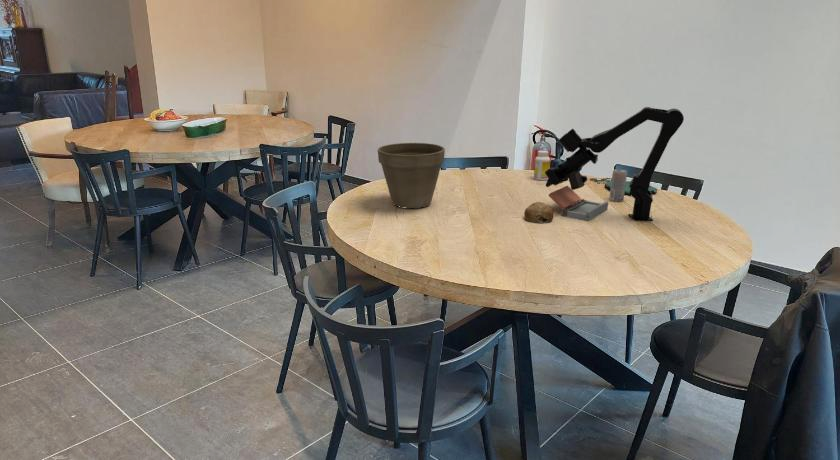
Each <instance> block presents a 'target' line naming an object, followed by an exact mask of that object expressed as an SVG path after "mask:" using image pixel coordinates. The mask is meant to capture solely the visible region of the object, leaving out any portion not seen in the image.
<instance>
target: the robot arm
mask: <svg viewBox="0 0 840 460" xmlns="http://www.w3.org/2000/svg"><path fill="white" fill-rule="evenodd" d="M647 121H652V122H656V123H660V124H661V126H660V131H659V134H658V135H657V137H656V140H655V142H654V145H653V146H652V148H651V150H650V152H649V154H648V156H647V158H646V160H645V163H644V165H643V166H642V168H641V170H640V171H639V173H638V174H637V173H636V172H634V173H633V176H632V179H631V180H630V181H629V187H630V193H629V194H630V196H631V197H632V198H634V202H633V209H632V213H629V214H628V217H630V218H631V219H632V220H634V221H638V222H640V221H642V222H643V221H648V222H649V221H654V219H653V218H652V217H651V216H650V215H651V210H652V209H651V208H652V203H653V201H654V198H653V192H650V191H649V190H648V189H649V186H651V180H652V177H653V175H654V172H655V170H656V169H657V166H658V165H659V162H660V160H661V158H662V156H663V154H664V152H665V150H666V148H667V146H668V144H669V142H670V140H671V138H672V137H673V136H674V135H675V134H676V132H677V131H678V130H679V129H680V127H681V126H682V124H683V123H684V115H683V112H682V111H681V110H680V109H678V108H670V109H662V108H661V109H660V108H655V107H654V108H653V107H650V106H645V107H643V108H642V109H641V110H639V111H638V112H636V113H634V114H633V115H632V116H630V117H628V118H626V119H625V120H623V121H622V122H620V123H618V124H617V125H615V126H613V127H611V128H609V129H607V130H604V131H602V132H599V133H597V134H594V135H593V136H592V137H583V138H582V137H581V136H580V134H578V133H577V131H576V130H575V129H574V128H571V129H570V130H568V132H566V133H564V134H563V135H562V136H561V137H560V138H559V139H558V140H557V142H558V143H559V144H560V146H561V147H562V148H564V150H565V151H566V152H567V153H573V154H571V155H570V156H568V157H566V158H565V160H564V161H563V162H562V163H559V164H558V165H557V167H550V168H549V169H548V170H547V171H546V172H545V174H546V175H547V177H548V180H546V182H545V187H546V188H549V187H551V186H558V185H560V184H562V183H564V182H567V181H569V185H570V188H571V189H572V190H573V191H574V190H578V189H581V188H583V187H585V186H586V182H587V181H588V178H587V176H586V175H583V174H581V172H580V171H582V169H583V167H584V166H585V165H587V164H588V163H589V162H591V163H592V164H594V165H595V164H597V162H598V160H599V158H598V157H599V154H600V153H602V152H603V151H605V150H606V149H607V148H609V146H611V144H612V143H614V142H615V141H616V140H617V139H618V138H620V137H622V136H624V135H625V134H627V133H629V132H630V131H631V130H633V129H634V128H637V127H638V126H640V125H642V124H643V123H645V122H647ZM577 149H578V150H577ZM595 153H596V154H595Z"/></svg>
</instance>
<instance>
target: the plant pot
mask: <svg viewBox="0 0 840 460" xmlns="http://www.w3.org/2000/svg"><path fill="white" fill-rule="evenodd" d="M445 153H446V149H445V147H444V146H442V145H439V144H435V143H434V144H433V143H427V142H426V143H425V142H401V143H391V144H387V145H382V146H380V147H379V148H377V155H378V156H377V158H378V163H379V164H380V165H381V168H382V171H383V175H384V179H385V182H386V185H387V189H388V192H389V195H390V199H391V202H392V205H394V204H395V205H397V206H400V207H406V208H418V209H422V208H421V207H424V208H427V207H428V206H430V205H431V204H432V201H433V198H434V194H435V190H436V187H437V183H438V179H439V175H440V171H441V167H442V164H443V163H444V161H445ZM395 205H394V206H395ZM397 206H396V207H397ZM426 206H427V207H426Z"/></svg>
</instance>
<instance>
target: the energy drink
mask: <svg viewBox="0 0 840 460" xmlns="http://www.w3.org/2000/svg"><path fill="white" fill-rule="evenodd" d="M627 176H628V172H627V170H626V169H619V168H618V169H617V168H616V169H613V170H612V174H611V178H612V182H611V181H610V182H611V189H609V190H610V192H609V198H608V199H609V200H610V201H611V202H617V203H618V202H619V203H621V202H623V201H624V198H625V185H626V181H627Z"/></svg>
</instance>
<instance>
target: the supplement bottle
mask: <svg viewBox="0 0 840 460" xmlns="http://www.w3.org/2000/svg"><path fill="white" fill-rule="evenodd" d="M550 166H551V159H550V157H549V151H548V150H538V151H537V156H536V157H535V159H534V171H533V179H534V180H536V181H541V182H542V181H547V180H548V177H547V175H546V174H545V172H546V171H547V170H548V169H550V168H551V167H550Z"/></svg>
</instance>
